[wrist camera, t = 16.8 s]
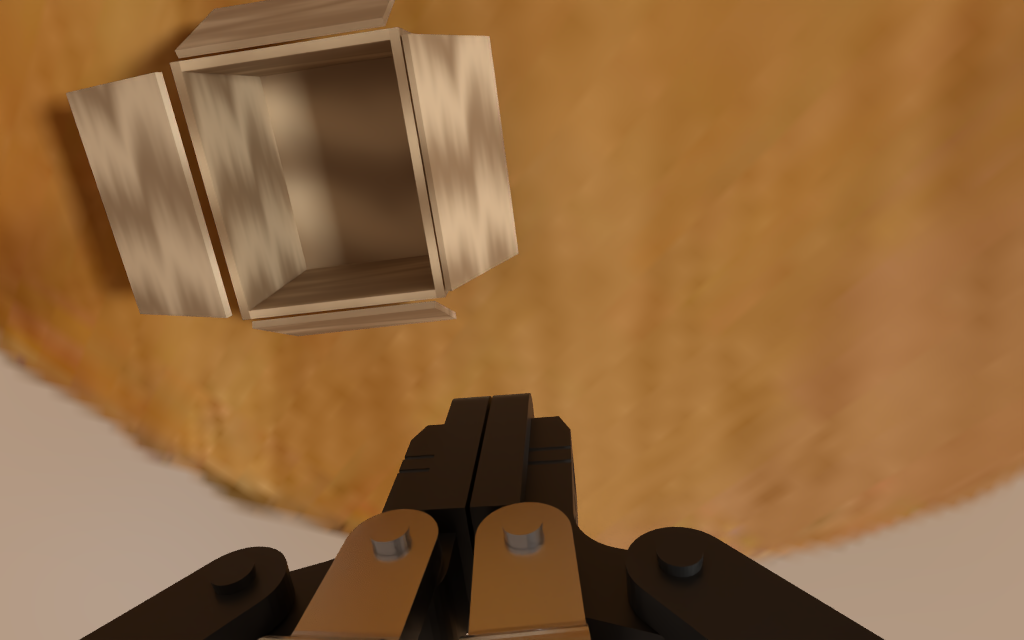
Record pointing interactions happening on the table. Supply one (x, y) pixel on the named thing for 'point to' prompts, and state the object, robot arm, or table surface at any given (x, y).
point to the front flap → (150, 196)
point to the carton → (346, 162)
